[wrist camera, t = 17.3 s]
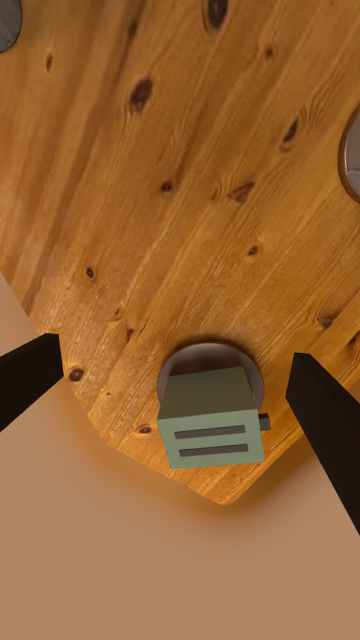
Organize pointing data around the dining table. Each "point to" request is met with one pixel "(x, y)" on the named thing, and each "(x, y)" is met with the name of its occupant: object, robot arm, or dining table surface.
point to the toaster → (211, 406)
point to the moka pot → (9, 22)
